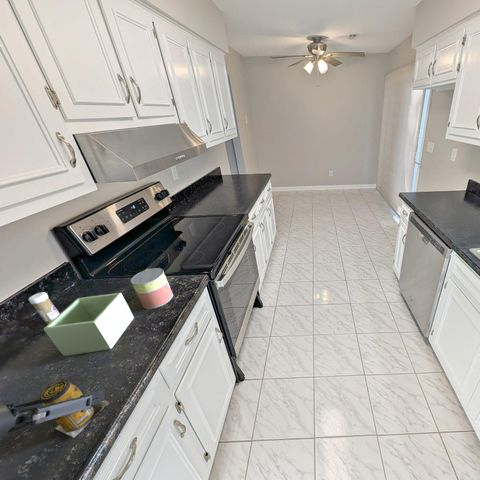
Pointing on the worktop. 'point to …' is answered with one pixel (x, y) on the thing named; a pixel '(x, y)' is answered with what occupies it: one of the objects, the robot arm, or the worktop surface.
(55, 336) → the trash bin
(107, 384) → the worktop surface
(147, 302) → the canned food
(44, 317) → the sprinkles bottle
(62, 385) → the condiment
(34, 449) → the worktop surface
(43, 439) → the worktop surface
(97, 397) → the robot arm
